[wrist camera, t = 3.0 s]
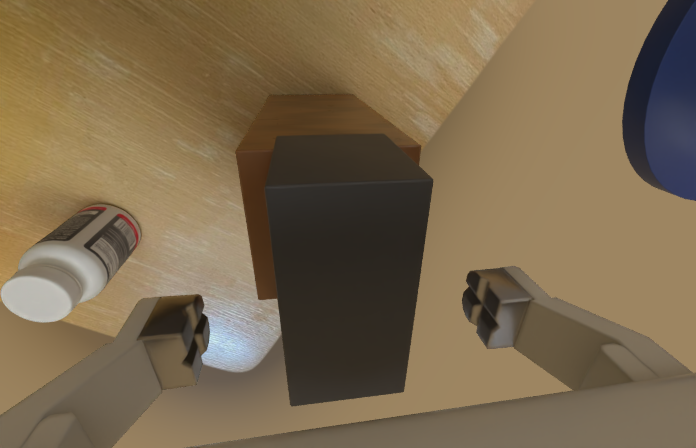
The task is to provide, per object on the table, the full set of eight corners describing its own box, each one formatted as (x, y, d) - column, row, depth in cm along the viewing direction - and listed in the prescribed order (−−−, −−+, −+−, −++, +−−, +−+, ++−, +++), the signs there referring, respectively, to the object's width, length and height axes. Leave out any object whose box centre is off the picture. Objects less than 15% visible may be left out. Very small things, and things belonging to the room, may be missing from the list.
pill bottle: (73, 243, 30) (-16, 319, 22) (80, 193, 28) (-15, 256, 20) (136, 260, 32) (78, 337, 23) (148, 214, 30) (88, 280, 21)
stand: (353, 94, 27) (421, 145, 13) (352, 173, 31) (405, 288, 16) (269, 94, 27) (234, 150, 12) (277, 176, 30) (258, 300, 15)
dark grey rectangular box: (384, 132, 12) (434, 178, 8) (374, 298, 16) (404, 392, 12) (275, 135, 12) (263, 185, 7) (292, 306, 15) (290, 407, 11)
